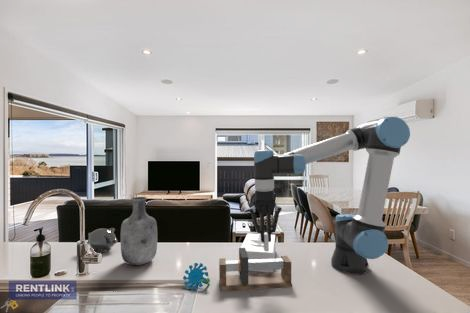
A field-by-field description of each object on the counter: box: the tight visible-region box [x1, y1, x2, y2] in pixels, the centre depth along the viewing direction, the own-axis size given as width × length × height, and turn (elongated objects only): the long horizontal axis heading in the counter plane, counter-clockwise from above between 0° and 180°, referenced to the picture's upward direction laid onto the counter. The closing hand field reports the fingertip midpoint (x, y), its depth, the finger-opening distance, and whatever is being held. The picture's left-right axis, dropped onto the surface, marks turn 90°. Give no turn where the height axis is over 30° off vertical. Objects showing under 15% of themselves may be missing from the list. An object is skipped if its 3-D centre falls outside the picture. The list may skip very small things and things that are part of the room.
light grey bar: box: [226, 257, 284, 273], centre depth 104 cm, size 25×3×3 cm, turn 95°
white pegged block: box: [240, 232, 276, 273], centre depth 126 cm, size 14×25×11 cm, turn 169°
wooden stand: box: [218, 255, 293, 292], centre depth 104 cm, size 27×10×9 cm, turn 95°
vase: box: [120, 196, 158, 266], centre depth 123 cm, size 16×16×30 cm
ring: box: [238, 247, 249, 284], centre depth 104 cm, size 2×10×10 cm, turn 5°
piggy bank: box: [87, 227, 119, 254], centre depth 138 cm, size 11×15×12 cm
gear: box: [182, 262, 211, 291], centre depth 103 cm, size 11×6×10 cm
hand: (266, 249), depth 104 cm, fingers closed
